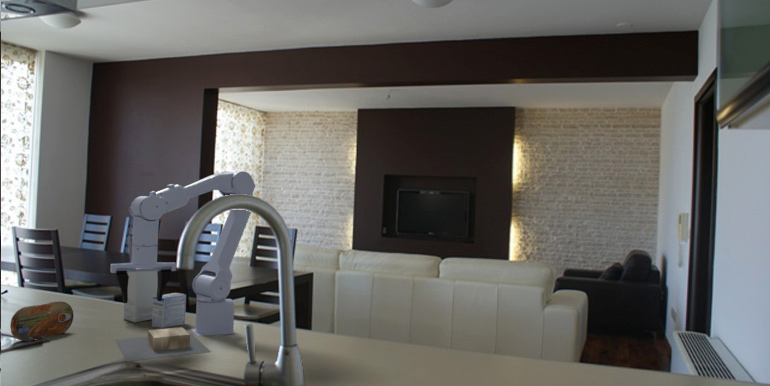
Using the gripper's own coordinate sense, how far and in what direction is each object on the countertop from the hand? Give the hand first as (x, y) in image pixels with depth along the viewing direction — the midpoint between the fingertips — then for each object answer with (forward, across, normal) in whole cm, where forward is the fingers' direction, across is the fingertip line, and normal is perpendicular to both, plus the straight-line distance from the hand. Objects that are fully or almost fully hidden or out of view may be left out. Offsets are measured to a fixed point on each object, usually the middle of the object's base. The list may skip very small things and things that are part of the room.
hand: (142, 301), depth 136 cm
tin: (+11, +20, -17) cm, 28 cm away
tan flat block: (+8, -1, +5) cm, 10 cm away
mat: (+10, -4, +5) cm, 12 cm away
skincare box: (+11, -6, -29) cm, 31 cm away
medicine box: (+11, -10, -17) cm, 22 cm away
